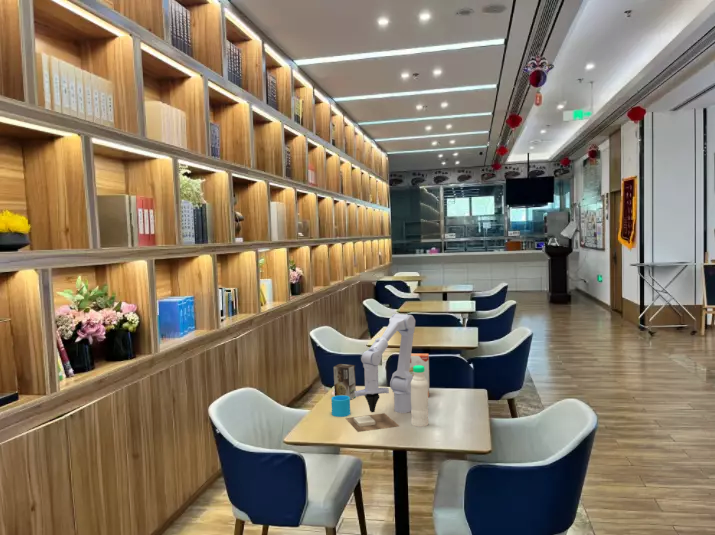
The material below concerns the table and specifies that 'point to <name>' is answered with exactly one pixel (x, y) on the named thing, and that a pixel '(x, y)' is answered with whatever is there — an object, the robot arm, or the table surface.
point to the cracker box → (420, 360)
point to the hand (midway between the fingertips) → (372, 411)
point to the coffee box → (344, 380)
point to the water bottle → (419, 397)
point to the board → (380, 423)
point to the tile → (364, 421)
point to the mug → (340, 406)
